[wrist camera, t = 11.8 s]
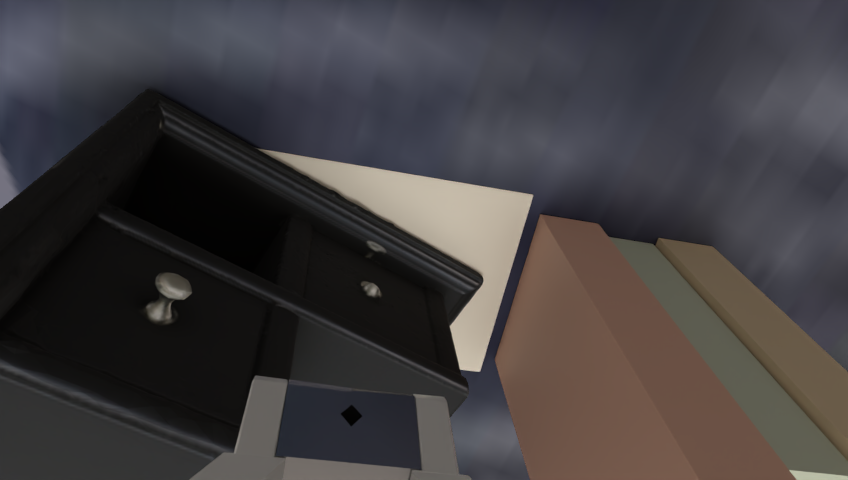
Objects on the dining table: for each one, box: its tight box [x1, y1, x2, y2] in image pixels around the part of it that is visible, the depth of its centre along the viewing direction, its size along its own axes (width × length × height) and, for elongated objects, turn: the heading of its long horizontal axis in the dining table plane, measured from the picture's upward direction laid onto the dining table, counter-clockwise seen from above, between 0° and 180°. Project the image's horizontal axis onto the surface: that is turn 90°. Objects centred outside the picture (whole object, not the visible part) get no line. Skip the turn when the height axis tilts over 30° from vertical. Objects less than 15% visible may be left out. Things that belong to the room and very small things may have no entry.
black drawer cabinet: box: [0, 89, 484, 480], centre depth 30 cm, size 23×11×24 cm, turn 56°
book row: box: [495, 214, 848, 480], centre depth 34 cm, size 12×12×23 cm
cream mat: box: [257, 148, 533, 372], centre depth 41 cm, size 24×14×1 cm, turn 78°
